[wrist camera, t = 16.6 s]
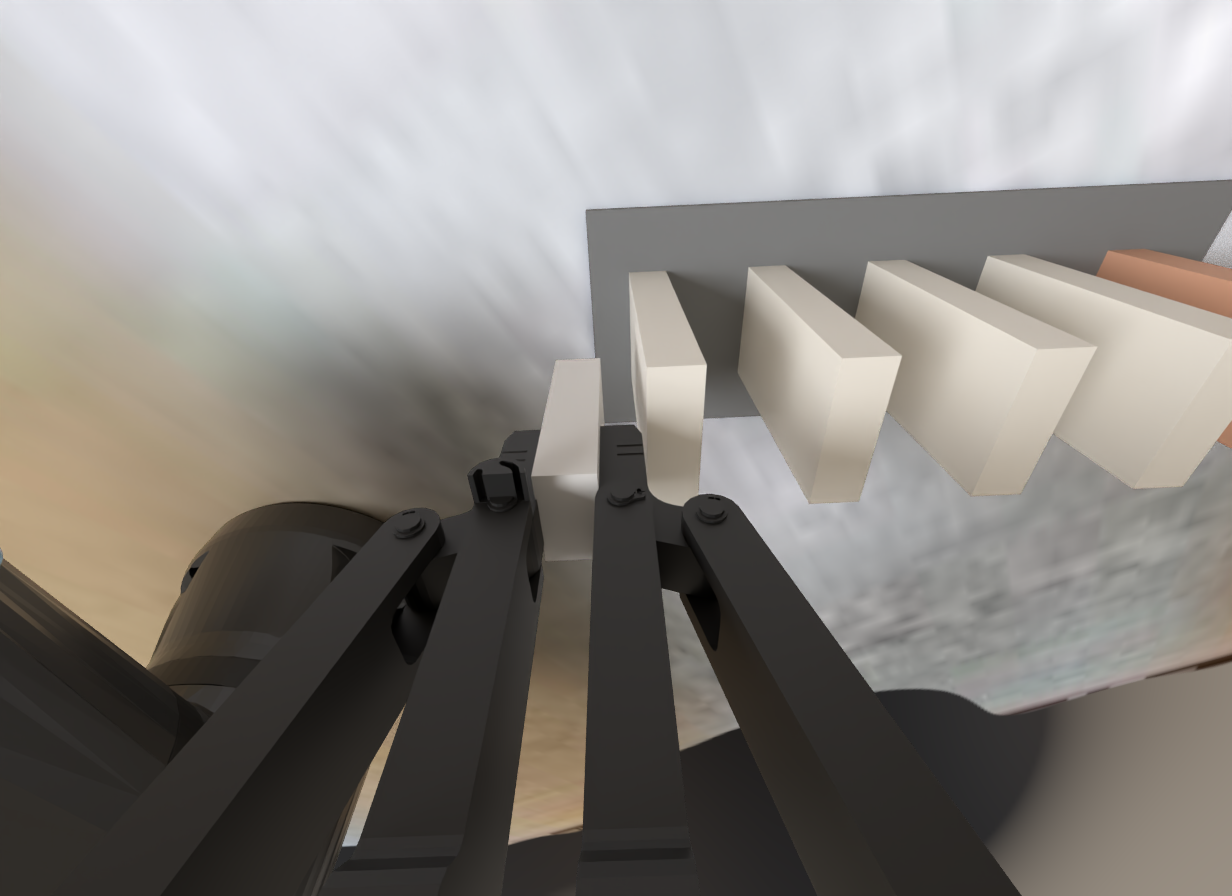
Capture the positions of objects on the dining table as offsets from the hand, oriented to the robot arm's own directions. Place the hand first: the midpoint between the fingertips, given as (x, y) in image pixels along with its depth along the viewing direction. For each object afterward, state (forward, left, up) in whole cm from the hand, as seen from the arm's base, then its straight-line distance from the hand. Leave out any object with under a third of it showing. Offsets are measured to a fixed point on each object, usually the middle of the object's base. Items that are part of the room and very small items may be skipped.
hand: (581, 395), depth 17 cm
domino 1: (+3, 0, -7) cm, 7 cm away
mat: (+14, 0, -7) cm, 16 cm away
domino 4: (+18, 0, -7) cm, 20 cm away
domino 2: (+8, 0, -7) cm, 10 cm away
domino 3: (+13, 0, -7) cm, 15 cm away
